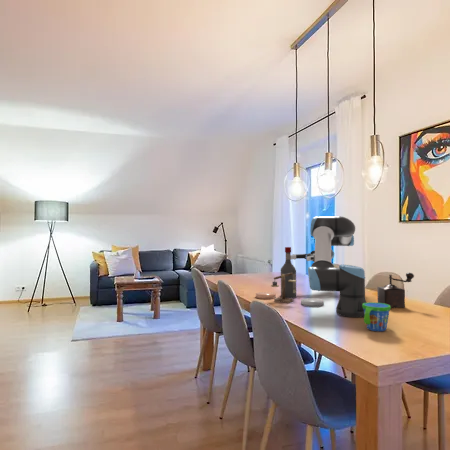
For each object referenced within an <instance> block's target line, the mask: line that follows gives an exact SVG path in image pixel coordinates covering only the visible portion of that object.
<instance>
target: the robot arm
mask: <svg viewBox="0 0 450 450" xmlns="http://www.w3.org/2000/svg"><path fill="white" fill-rule="evenodd" d="M355 232H356V226H355V223H354V222H353V221H352V220H351V219H349V218H348V217H344V216H339V215H337V216H334V215H333V216H314V217H312V218H311V222H310V236H311V237H313V239H314V240H315V241H314V250H312V251H310V253H299V254H291V260H296V259H304V260H306V262H311V261H312V262H313V263H312V264H311V266H308V267H307V274H308V282H309V283H308V284H309V289H310V290H312V291H318V292H339V299H338V301H337V304H336V308H335V313H336V314H337V315H339V316H343V317H347V318H364V316H365V314H364V309H363V307H362V304H363V303H368V302H367V299H366V273H365V270H364V268H362V267H360V266H356V265H350V264H339V266H338V267H335V266H334V263H332V259H333V258H334V257H335V252H334V250H333V249H332V247H353V246H354V244H355V237H354V234H355Z"/></svg>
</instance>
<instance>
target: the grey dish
mask: <svg viewBox="0 0 450 450" xmlns="http://www.w3.org/2000/svg"><path fill="white" fill-rule="evenodd" d="M324 302H325V301H324V300H323V299H321V298H313V297H311V298H308V297H307V298H302V299H301V300H300V303H301V304H300V305H301V306H304V307H310V308H311V307H312V308H314V307H315V308H316V307H317V308H318V307H324V305H325V304H324Z"/></svg>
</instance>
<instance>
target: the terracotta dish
mask: <svg viewBox="0 0 450 450" xmlns="http://www.w3.org/2000/svg"><path fill="white" fill-rule="evenodd" d="M276 296H277V295H276V293H275V292H271V291H270V292H269V291H260V292H256V293H255V298H256V299H260V300H272V299H273V300H274V299H275V298H277V297H276Z"/></svg>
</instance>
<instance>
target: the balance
mask: <svg viewBox="0 0 450 450" xmlns="http://www.w3.org/2000/svg"><path fill="white" fill-rule="evenodd" d="M289 275H292V280H288V282H296V283H297V279H296V280H293V273H289V274H282V276H281V275H278V276H274V277H273V279H274V281H272V284H271V285H270V287H273V288H278V287H279V286H280V285H279V284H278V281H276V280H278V279H281V278H282V297H281V296H279V297H276V298H273V302H277V303H283V304H284V303H285V304H290V303H292V302H294V298H285V277H286V276H289Z"/></svg>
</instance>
